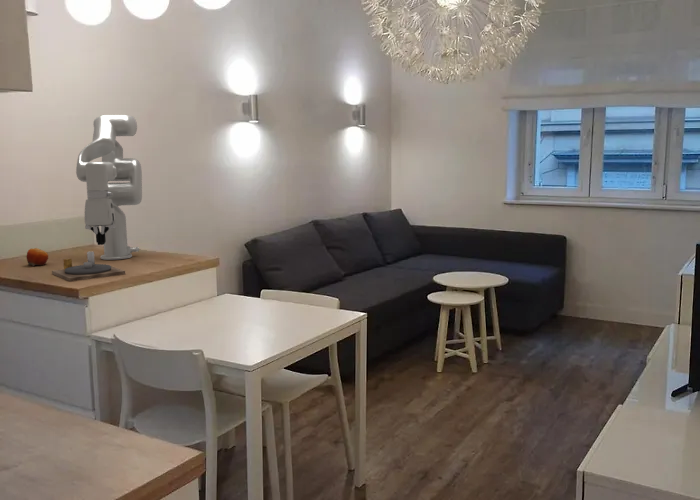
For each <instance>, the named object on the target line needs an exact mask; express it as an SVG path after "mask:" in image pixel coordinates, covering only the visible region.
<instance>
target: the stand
mask: <svg viewBox="0 0 700 500" xmlns="http://www.w3.org/2000/svg"><path fill="white" fill-rule="evenodd" d="M105 265H107V264H105ZM110 266H111V270H109V271H106V272H102V273H95V274H83V275H74V274H66V273H65V269H66V268H69V267H73V260H72V258H64V259H63V269H55V270H51V274H52V275H53V276H56V277H58V278H61V279H62V280H65V281H68V282H77V281H82V280H83V281H84V280H90V279H98V278H106V277H107V278H108V277H114V276H120V275H122V276H123V275H126V273H127V272H126V270H124V269H121V268H118V267H115V266H113V265H110Z"/></svg>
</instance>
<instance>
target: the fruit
mask: <svg viewBox="0 0 700 500" xmlns="http://www.w3.org/2000/svg"><path fill="white" fill-rule="evenodd" d="M48 260H49V254H48V252H46V251H45V250H43V249H40V248H38V247H34V248H30V249H28V251H27V252H26V261H27V264H28V266H32V268H33V267H34V266H44V265H46V264H47V261H48Z"/></svg>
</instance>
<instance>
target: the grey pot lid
mask: <svg viewBox="0 0 700 500" xmlns="http://www.w3.org/2000/svg"><path fill="white" fill-rule="evenodd" d="M86 256H87V261H85V262H83V264H80V265H74V266H73V265H72V267H69V268H66V269H65V273H66V274H74V275H83V274H95V273H102V272H106V271H109V270H111V266H112V265H109V264H106V265H105V264H104V263H103V264H101V263H98V264H97V263H96V264H95V253H94V251H87V252H86Z"/></svg>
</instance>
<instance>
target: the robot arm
mask: <svg viewBox="0 0 700 500" xmlns="http://www.w3.org/2000/svg"><path fill="white" fill-rule="evenodd" d="M137 130H138V125H137V119H135V117H134V116H133V115H129V114H128V115H127V114H103V115H100V116H98V117H96V118H95V119H94V120H93V136H92V141H91V142H90V143H88V144H87V145H85V147H84V148H83V149H81V151H80V152H79V154H78V155H77V156H78V157H77V160H76V169H75V170H76V171H75V173H76V177H77V179H78V180H79V181H80V182H84V183H86V196H87V199H85V204H84V224H85V227H84V229H86V230H88V231H91V232H93V234H94V235H95V241H96V244H97V246H103V253H104V254H101V255H100V259H101V260H105V261H107V260H108V261H116V260H118V261H119V260H126V259H129V258H133V254H132V253H134V252H136V253H137V252H139V251H140V247H139V246H136V247H134V246H133V247H132V246H129V245H128V233H127V232H128V231H127V219H126V217H127V216H126V214H125V212H124V211H123V210H122V209H121V208H120V206H136V205H140V204H141V202H142V199H143V181H142V180H143V174H142V165H141V162H140V160H138V159H137V158H131V157H130V158H127V157H126V158H124V147H122V145H121V144H120V142H119V141H117V140H116V139H117V138H116V137H133V136H134V137H135V136H136V134H137ZM98 158H101V161H93V160H95V159H98Z"/></svg>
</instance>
